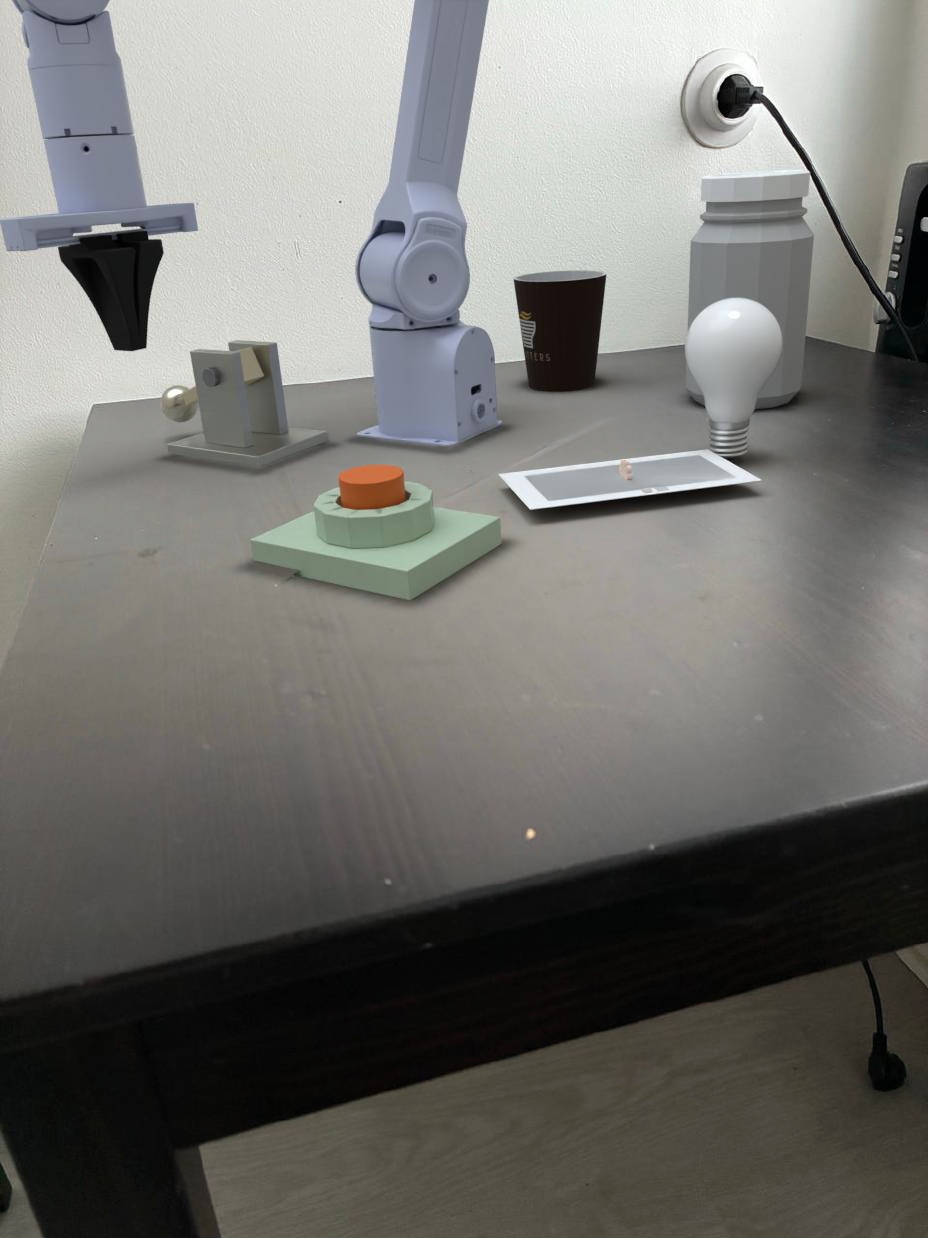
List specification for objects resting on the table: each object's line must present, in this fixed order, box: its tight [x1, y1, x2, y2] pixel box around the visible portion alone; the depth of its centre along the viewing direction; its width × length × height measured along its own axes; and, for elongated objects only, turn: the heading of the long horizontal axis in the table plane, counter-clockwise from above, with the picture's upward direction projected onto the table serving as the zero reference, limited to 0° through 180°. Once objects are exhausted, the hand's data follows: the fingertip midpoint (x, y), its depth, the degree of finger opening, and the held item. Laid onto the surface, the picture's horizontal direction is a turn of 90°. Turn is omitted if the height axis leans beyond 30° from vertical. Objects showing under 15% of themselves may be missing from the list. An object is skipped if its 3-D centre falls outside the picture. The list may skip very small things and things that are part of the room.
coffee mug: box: [513, 269, 607, 392], centre depth 96 cm, size 12×9×10 cm
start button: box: [338, 464, 406, 510], centre depth 55 cm, size 4×4×2 cm
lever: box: [160, 347, 264, 423], centre depth 80 cm, size 11×3×3 cm, turn 57°
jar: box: [685, 169, 815, 410], centre depth 83 cm, size 10×10×18 cm
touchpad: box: [498, 448, 763, 511], centre depth 64 cm, size 8×15×2 cm, turn 102°
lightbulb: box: [684, 297, 783, 462], centre depth 68 cm, size 6×6×11 cm
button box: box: [250, 480, 502, 601], centre depth 56 cm, size 11×9×4 cm
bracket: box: [166, 339, 330, 468], centre depth 78 cm, size 10×8×8 cm
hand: (130, 349), depth 71 cm, fingers closed
